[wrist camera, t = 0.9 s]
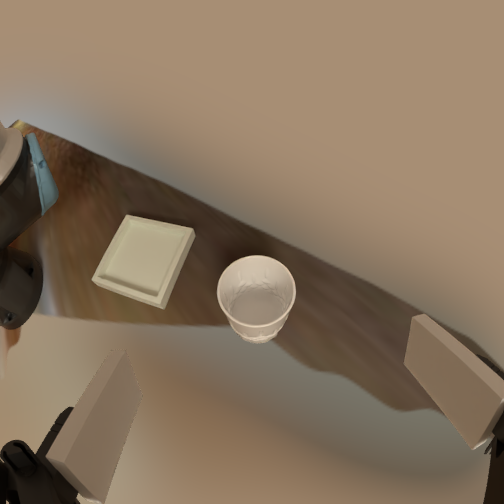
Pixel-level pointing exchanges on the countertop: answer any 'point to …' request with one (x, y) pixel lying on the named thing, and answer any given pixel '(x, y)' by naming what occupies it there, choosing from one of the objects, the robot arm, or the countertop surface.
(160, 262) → the coaster tray
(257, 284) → the white cup
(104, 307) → the countertop surface
